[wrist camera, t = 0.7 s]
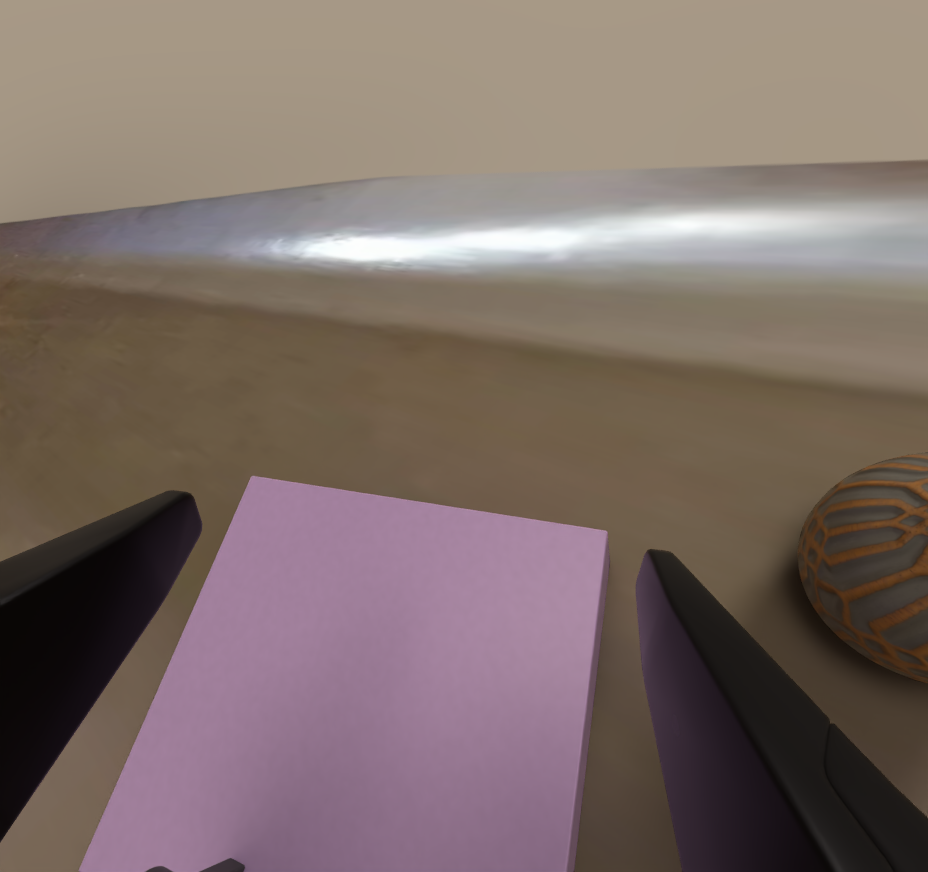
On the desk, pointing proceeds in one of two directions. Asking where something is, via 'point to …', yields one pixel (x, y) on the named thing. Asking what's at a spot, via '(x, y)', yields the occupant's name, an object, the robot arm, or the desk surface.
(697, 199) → the desk surface
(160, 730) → the door panel with handle
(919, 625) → the vase
